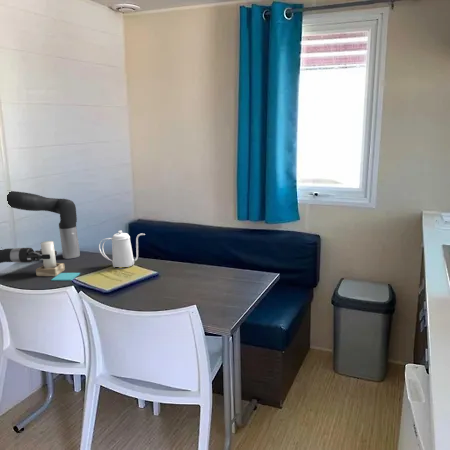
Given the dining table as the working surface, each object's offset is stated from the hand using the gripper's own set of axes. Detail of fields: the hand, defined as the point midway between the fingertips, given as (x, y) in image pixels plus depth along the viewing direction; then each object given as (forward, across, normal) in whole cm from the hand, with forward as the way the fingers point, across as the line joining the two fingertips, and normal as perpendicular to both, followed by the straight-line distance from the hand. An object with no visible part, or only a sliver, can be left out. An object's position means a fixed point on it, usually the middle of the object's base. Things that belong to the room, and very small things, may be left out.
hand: (53, 254), depth 228 cm
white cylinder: (-2, 0, +10) cm, 10 cm away
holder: (-2, 0, +10) cm, 10 cm away
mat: (+9, -7, +10) cm, 15 cm away
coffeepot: (+33, +11, +10) cm, 36 cm away
